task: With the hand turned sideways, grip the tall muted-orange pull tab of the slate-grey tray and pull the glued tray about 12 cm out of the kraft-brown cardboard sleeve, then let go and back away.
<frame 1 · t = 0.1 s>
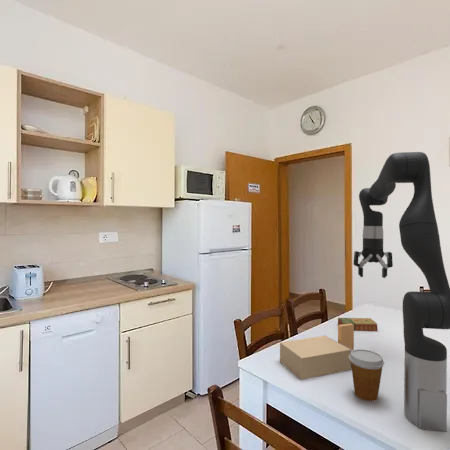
hand: (372, 277, 124), 29 cm above the table, tool pointing down, fingers open, 8 cm apart
sleeve: (314, 365, 110), on the table
disposable coffee cup: (366, 396, 91), on the table
tray: (323, 345, 111), point 7 cm above the table, slide at 0.0 cm
carton: (356, 329, 149), on the table
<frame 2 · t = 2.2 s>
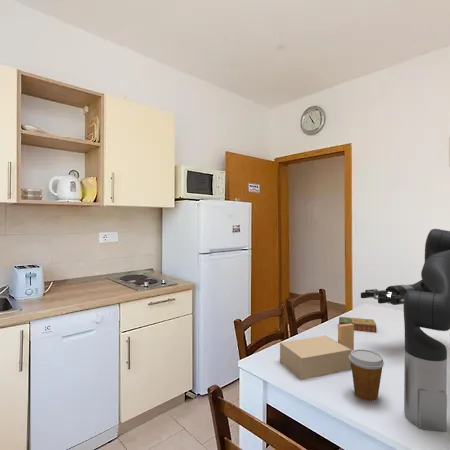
hand: (369, 297, 119), 22 cm above the table, tool horizontal, fingers open, 8 cm apart
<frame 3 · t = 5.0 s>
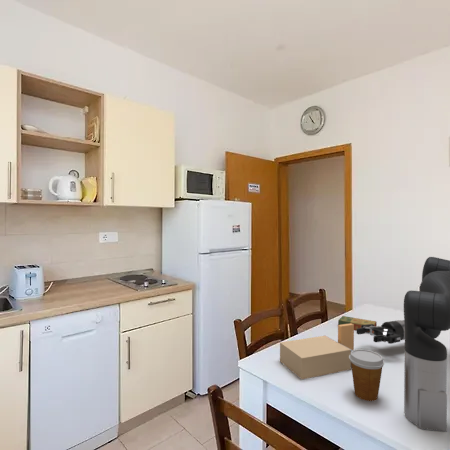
hand: (365, 335, 118), 8 cm above the table, tool horizontal, fingers open, 8 cm apart
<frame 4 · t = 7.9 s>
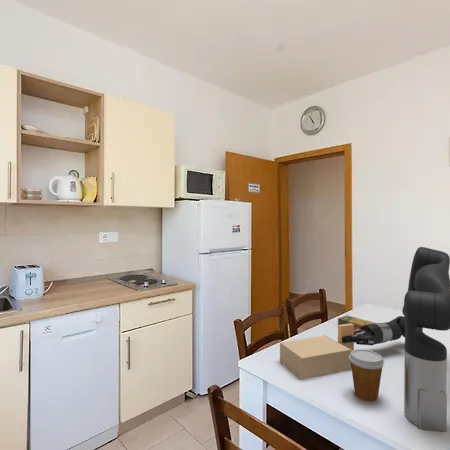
hand: (340, 339, 114), 8 cm above the table, tool horizontal, fingers closed on tray
tray: (323, 345, 111), point 7 cm above the table, slide at 0.0 cm, touching gripper
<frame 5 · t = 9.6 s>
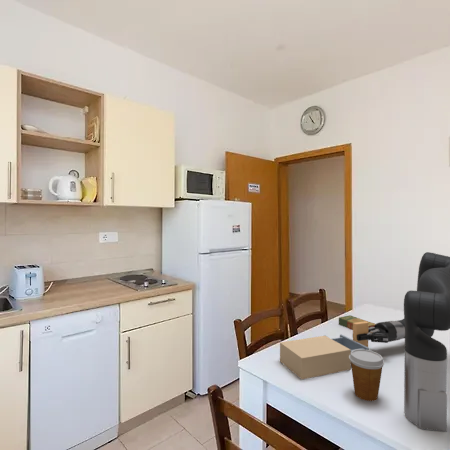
hand: (355, 336, 116), 8 cm above the table, tool horizontal, fingers closed on tray
tray: (339, 342, 114), point 7 cm above the table, slide at 7.0 cm, touching gripper
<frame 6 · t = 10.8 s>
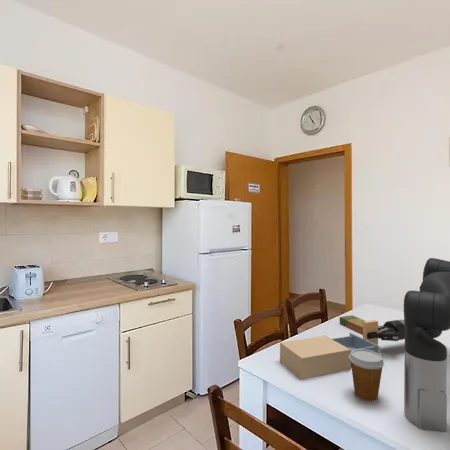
hand: (365, 335, 118), 8 cm above the table, tool horizontal, fingers closed on tray
tray: (350, 340, 115), point 7 cm above the table, slide at 11.9 cm, touching gripper
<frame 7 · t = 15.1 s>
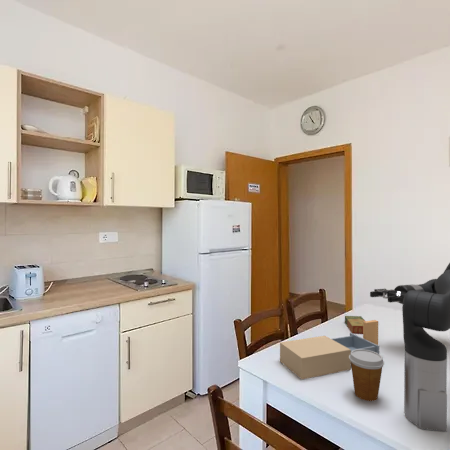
hand: (379, 296, 120), 22 cm above the table, tool horizontal, fingers open, 8 cm apart
tray: (350, 340, 115), point 7 cm above the table, slide at 12.0 cm
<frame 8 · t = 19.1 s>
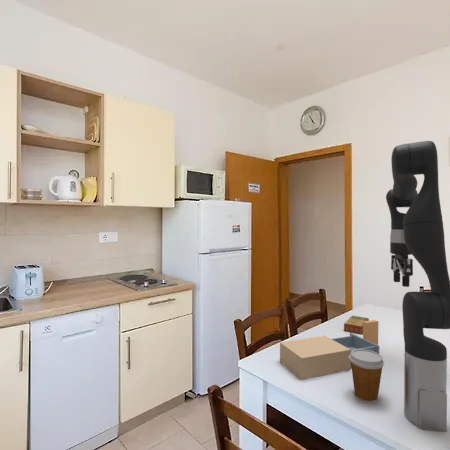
hand: (401, 284, 116), 28 cm above the table, tool pointing down, fingers open, 8 cm apart
at the end: tray slide at 12.0 cm; the gripper is holding nothing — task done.
